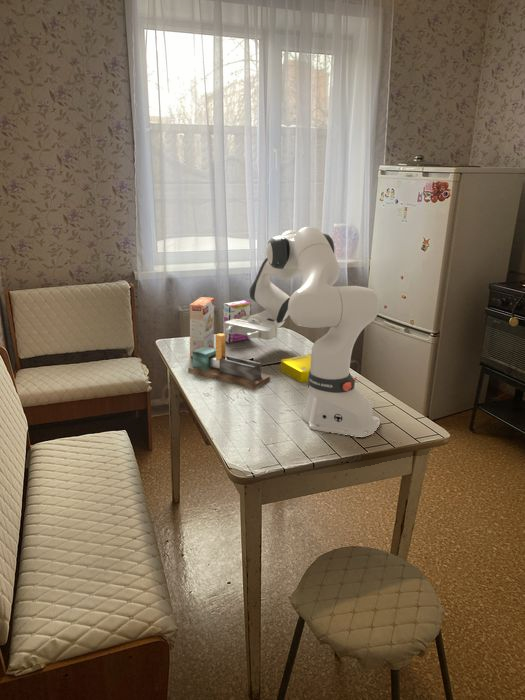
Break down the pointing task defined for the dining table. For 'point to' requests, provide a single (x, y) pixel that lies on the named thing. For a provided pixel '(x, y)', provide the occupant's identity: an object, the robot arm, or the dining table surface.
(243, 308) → the candy bar box
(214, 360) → the post on white base
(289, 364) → the element tile
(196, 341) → the cracker box
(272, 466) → the dining table surface
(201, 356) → the slide bolt latch board
